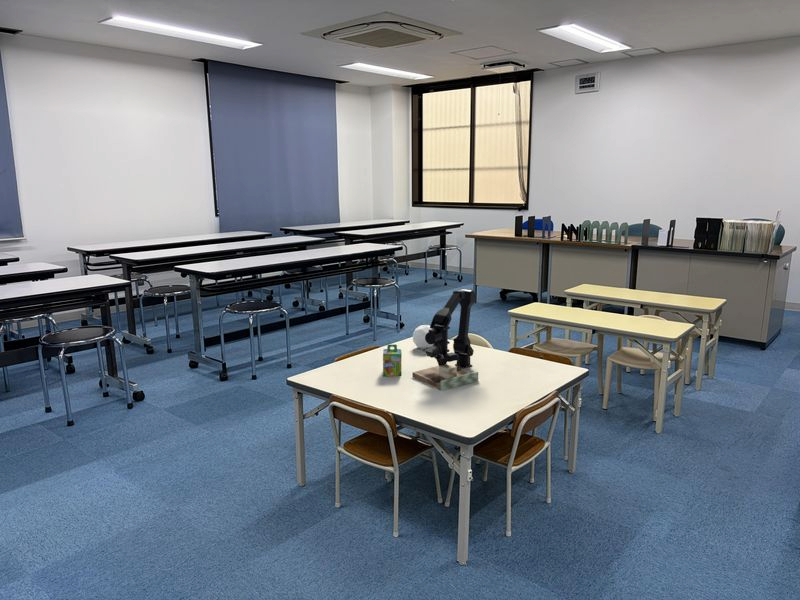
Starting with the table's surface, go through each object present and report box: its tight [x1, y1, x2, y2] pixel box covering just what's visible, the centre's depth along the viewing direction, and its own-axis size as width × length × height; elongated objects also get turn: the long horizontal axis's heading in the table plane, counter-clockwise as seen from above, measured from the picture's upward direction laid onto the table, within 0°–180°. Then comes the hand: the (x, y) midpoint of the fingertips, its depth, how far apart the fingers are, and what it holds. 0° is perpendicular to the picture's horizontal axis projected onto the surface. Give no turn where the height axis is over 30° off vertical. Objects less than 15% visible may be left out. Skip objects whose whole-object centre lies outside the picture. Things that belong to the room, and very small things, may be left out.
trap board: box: [412, 365, 479, 392], centre depth 275 cm, size 22×23×4 cm
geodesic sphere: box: [412, 324, 433, 350], centre depth 325 cm, size 15×14×14 cm
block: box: [438, 363, 458, 378], centre depth 273 cm, size 6×6×4 cm
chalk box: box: [382, 343, 403, 378], centre depth 283 cm, size 9×9×15 cm
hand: (441, 370), depth 277 cm, fingers closed
